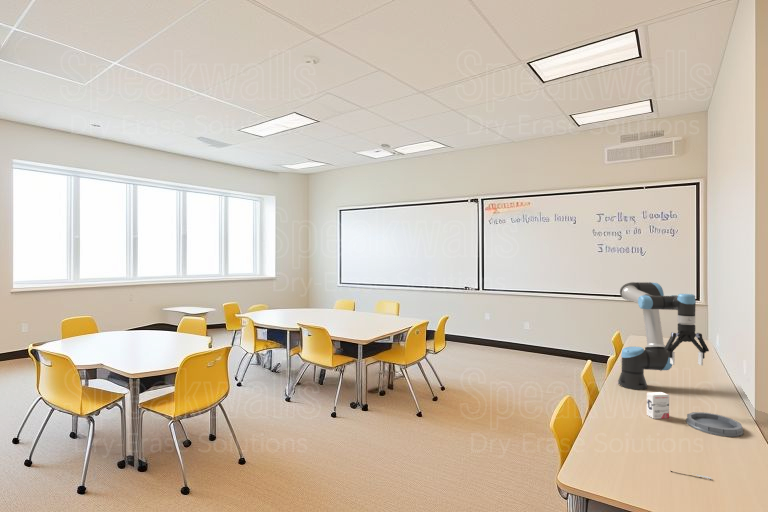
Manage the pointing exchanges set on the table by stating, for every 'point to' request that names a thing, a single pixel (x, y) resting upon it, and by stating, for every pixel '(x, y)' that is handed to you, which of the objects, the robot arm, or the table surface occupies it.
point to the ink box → (658, 405)
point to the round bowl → (714, 424)
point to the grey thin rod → (703, 476)
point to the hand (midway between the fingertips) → (686, 364)
